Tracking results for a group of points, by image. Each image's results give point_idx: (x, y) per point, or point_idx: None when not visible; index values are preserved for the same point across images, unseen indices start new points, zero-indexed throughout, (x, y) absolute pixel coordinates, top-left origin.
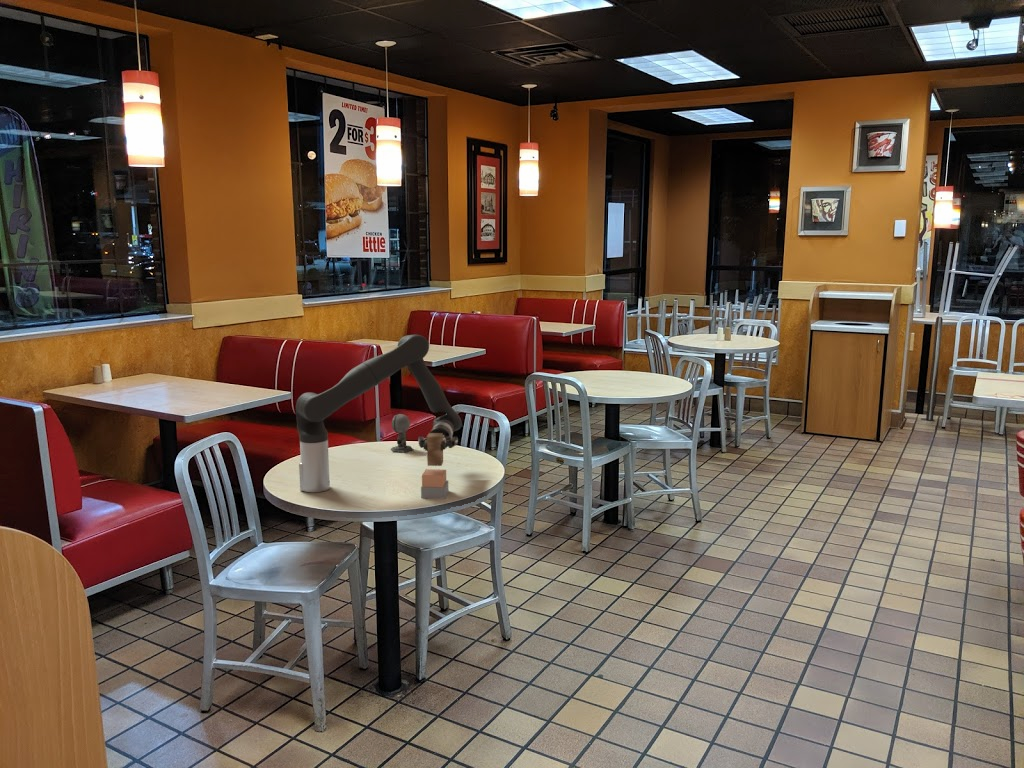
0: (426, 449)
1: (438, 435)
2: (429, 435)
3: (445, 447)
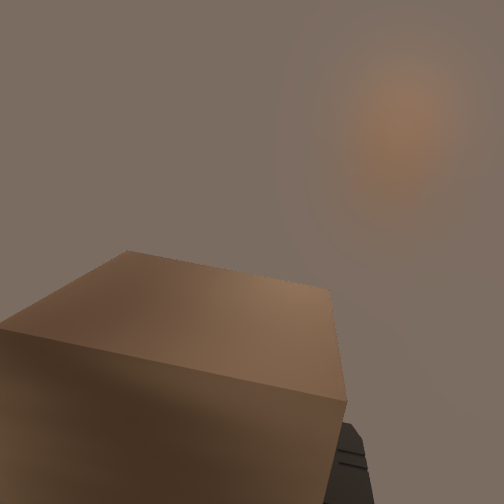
0: None
1: (147, 274)
2: (297, 300)
3: None
